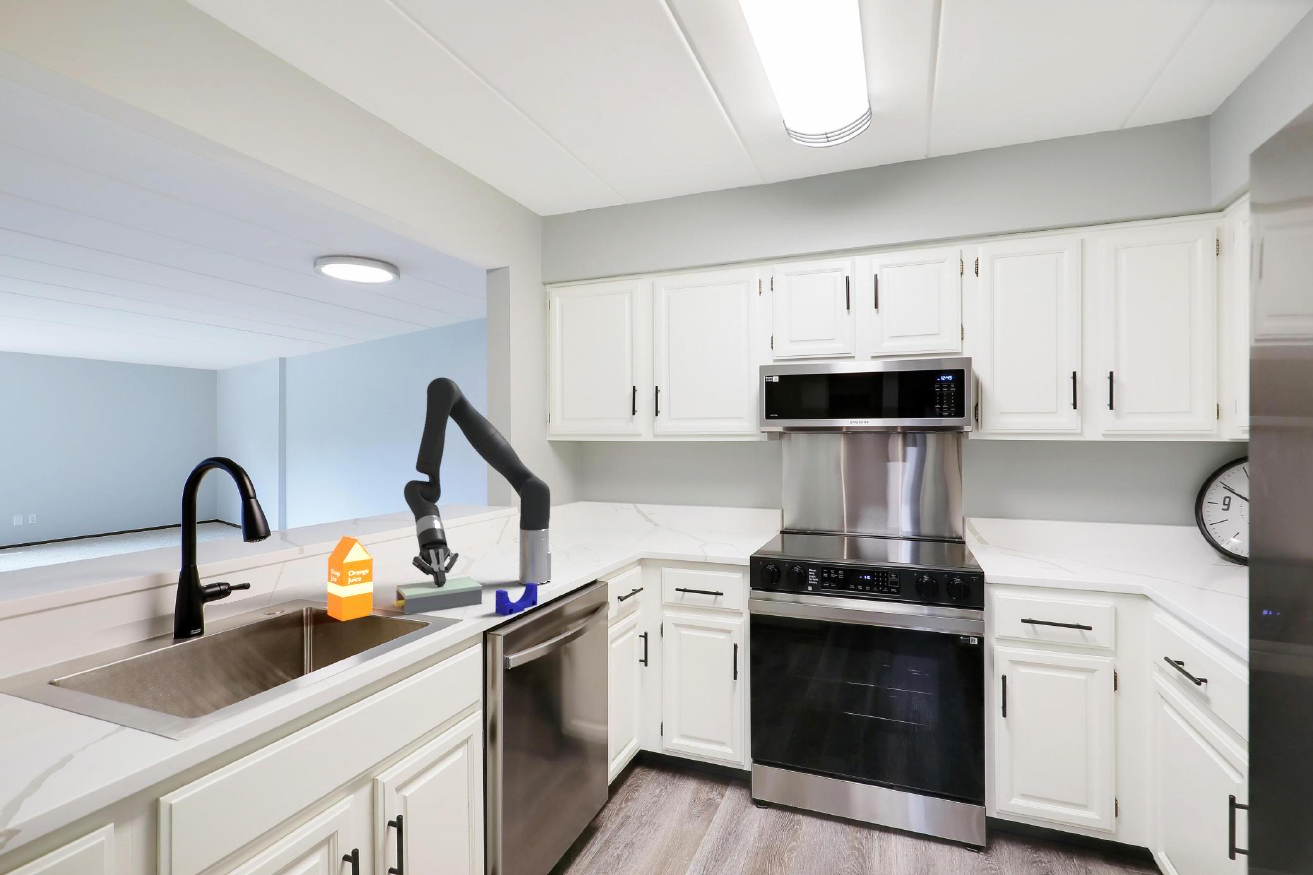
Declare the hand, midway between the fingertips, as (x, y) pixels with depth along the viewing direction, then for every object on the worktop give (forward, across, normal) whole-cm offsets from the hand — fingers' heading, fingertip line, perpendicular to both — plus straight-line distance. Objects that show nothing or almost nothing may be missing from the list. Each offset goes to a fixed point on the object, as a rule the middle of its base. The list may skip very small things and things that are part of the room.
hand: (441, 585), depth 164 cm
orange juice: (+1, -22, +7) cm, 23 cm away
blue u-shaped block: (+15, +17, -6) cm, 23 cm away
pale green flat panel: (0, 0, +2) cm, 2 cm away
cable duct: (+2, 0, +6) cm, 6 cm away
